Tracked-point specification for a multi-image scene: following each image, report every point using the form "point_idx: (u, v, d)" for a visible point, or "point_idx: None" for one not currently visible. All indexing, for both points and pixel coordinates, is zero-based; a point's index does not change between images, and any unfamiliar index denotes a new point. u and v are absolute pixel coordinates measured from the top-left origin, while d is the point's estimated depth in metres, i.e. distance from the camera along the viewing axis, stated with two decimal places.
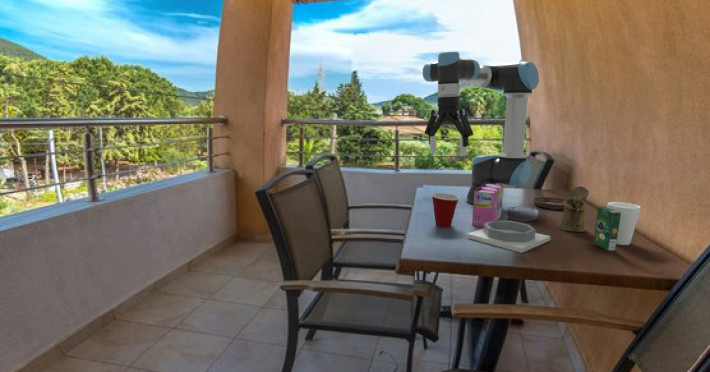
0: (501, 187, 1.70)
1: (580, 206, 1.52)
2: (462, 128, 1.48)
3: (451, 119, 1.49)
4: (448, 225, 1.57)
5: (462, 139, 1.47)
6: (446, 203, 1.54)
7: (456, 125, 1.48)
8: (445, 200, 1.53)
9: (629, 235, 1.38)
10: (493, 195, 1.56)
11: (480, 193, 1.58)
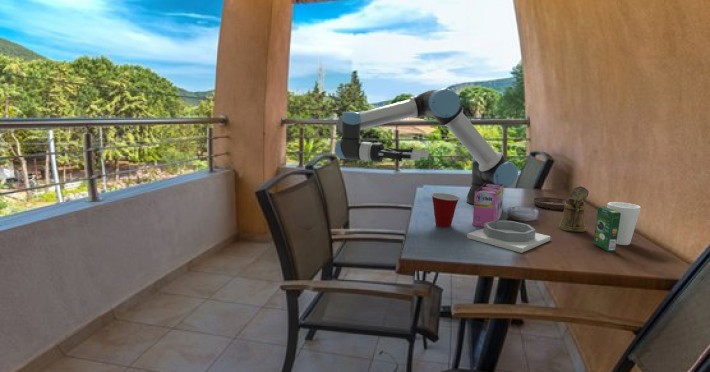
0: (501, 187, 1.70)
1: (580, 206, 1.52)
2: (395, 155, 1.57)
3: None
4: (448, 225, 1.57)
5: (404, 158, 1.55)
6: (446, 203, 1.54)
7: None
8: (445, 200, 1.53)
9: (629, 235, 1.38)
10: (494, 195, 1.55)
11: (480, 193, 1.58)
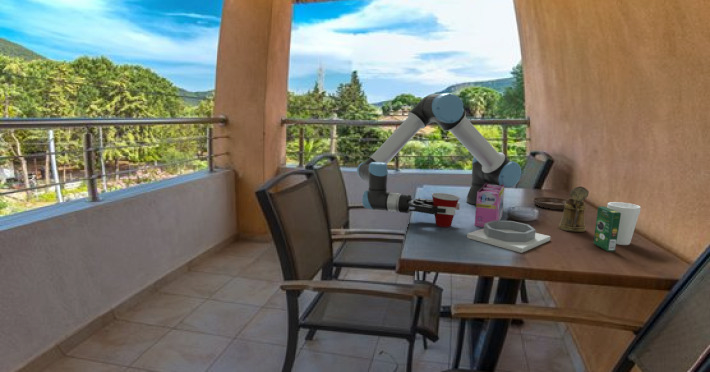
0: (502, 187, 1.70)
1: (580, 206, 1.52)
2: None
3: None
4: (448, 225, 1.57)
5: (438, 212, 1.55)
6: (446, 203, 1.54)
7: None
8: (446, 200, 1.53)
9: (629, 235, 1.38)
10: (496, 196, 1.55)
11: (483, 194, 1.57)
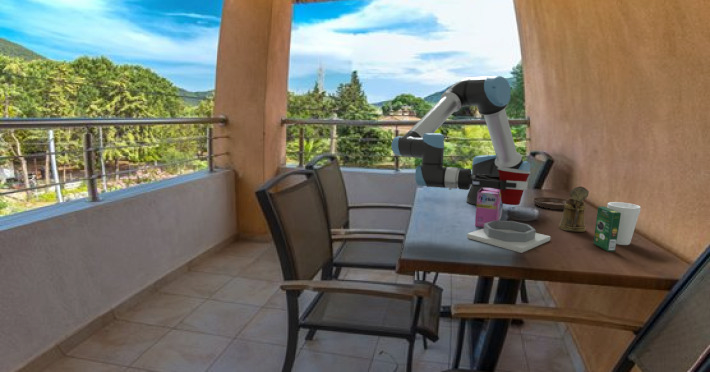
0: None
1: (580, 206, 1.52)
2: None
3: None
4: (517, 203, 1.38)
5: (507, 187, 1.36)
6: (517, 177, 1.35)
7: None
8: (516, 173, 1.34)
9: (629, 235, 1.38)
10: (496, 196, 1.54)
11: (483, 194, 1.56)
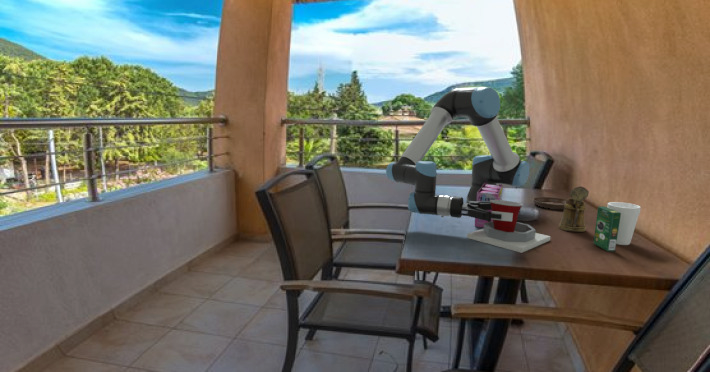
0: (501, 187, 1.69)
1: (580, 206, 1.52)
2: None
3: None
4: None
5: (493, 218, 1.37)
6: (509, 209, 1.36)
7: None
8: (509, 206, 1.35)
9: (629, 235, 1.38)
10: (496, 196, 1.54)
11: (483, 194, 1.56)
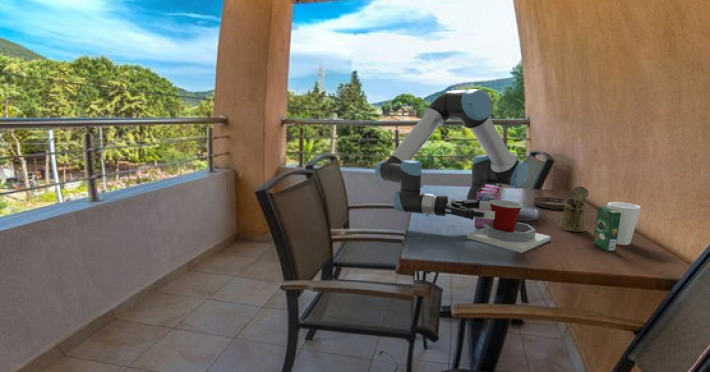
0: (501, 187, 1.69)
1: (580, 206, 1.52)
2: None
3: None
4: None
5: None
6: (509, 211, 1.35)
7: None
8: (508, 208, 1.35)
9: (629, 235, 1.38)
10: (496, 196, 1.54)
11: (482, 194, 1.56)
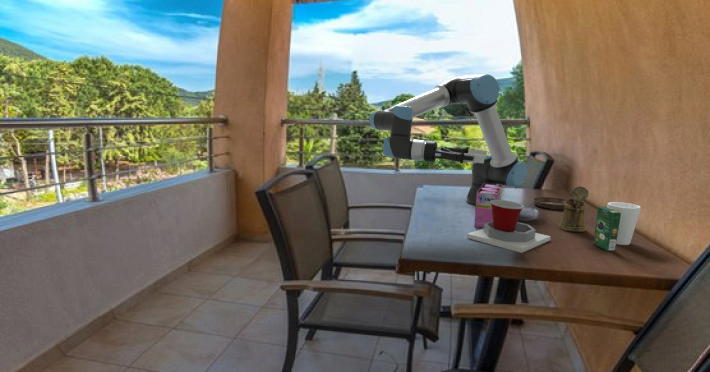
0: (501, 188, 1.69)
1: (580, 206, 1.52)
2: None
3: None
4: None
5: (465, 160, 1.40)
6: (509, 212, 1.35)
7: None
8: (509, 209, 1.34)
9: (629, 235, 1.38)
10: (496, 196, 1.54)
11: (482, 194, 1.56)
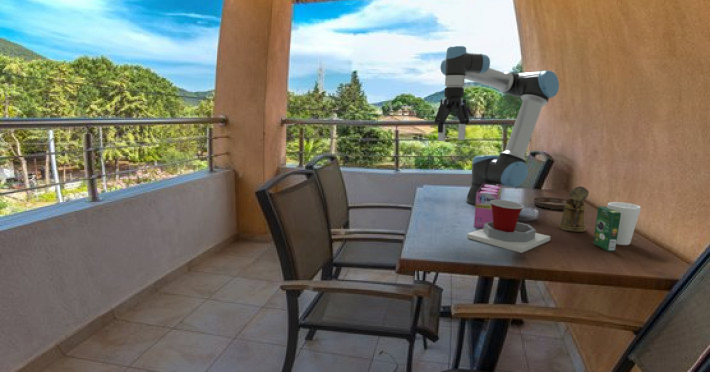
0: (500, 188, 1.69)
1: (580, 206, 1.52)
2: None
3: None
4: None
5: None
6: (509, 212, 1.35)
7: None
8: (509, 209, 1.34)
9: (629, 235, 1.38)
10: (496, 196, 1.54)
11: (482, 194, 1.56)
